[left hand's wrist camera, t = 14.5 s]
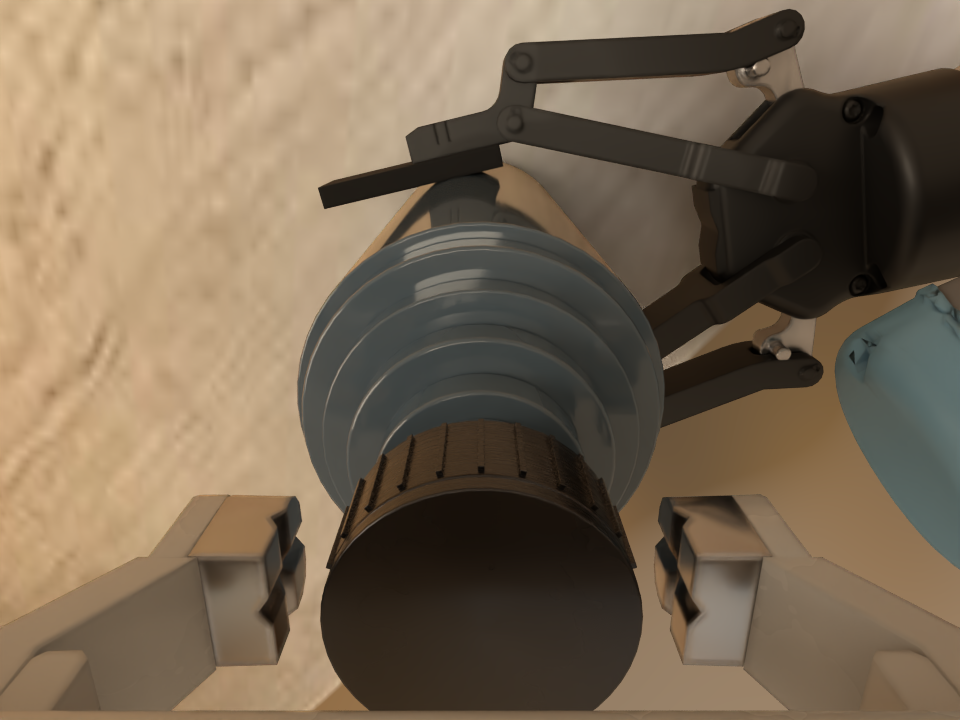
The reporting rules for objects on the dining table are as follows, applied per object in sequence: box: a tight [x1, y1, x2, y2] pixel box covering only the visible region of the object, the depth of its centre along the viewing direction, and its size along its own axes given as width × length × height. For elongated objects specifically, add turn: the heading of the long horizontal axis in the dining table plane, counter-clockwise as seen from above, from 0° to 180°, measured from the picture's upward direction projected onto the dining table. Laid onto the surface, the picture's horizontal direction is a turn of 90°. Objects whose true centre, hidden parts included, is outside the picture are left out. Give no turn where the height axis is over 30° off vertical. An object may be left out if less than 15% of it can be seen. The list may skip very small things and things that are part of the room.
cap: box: [320, 419, 643, 711], centre depth 9 cm, size 4×4×2 cm
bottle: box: [297, 163, 665, 513], centre depth 21 cm, size 8×8×25 cm
